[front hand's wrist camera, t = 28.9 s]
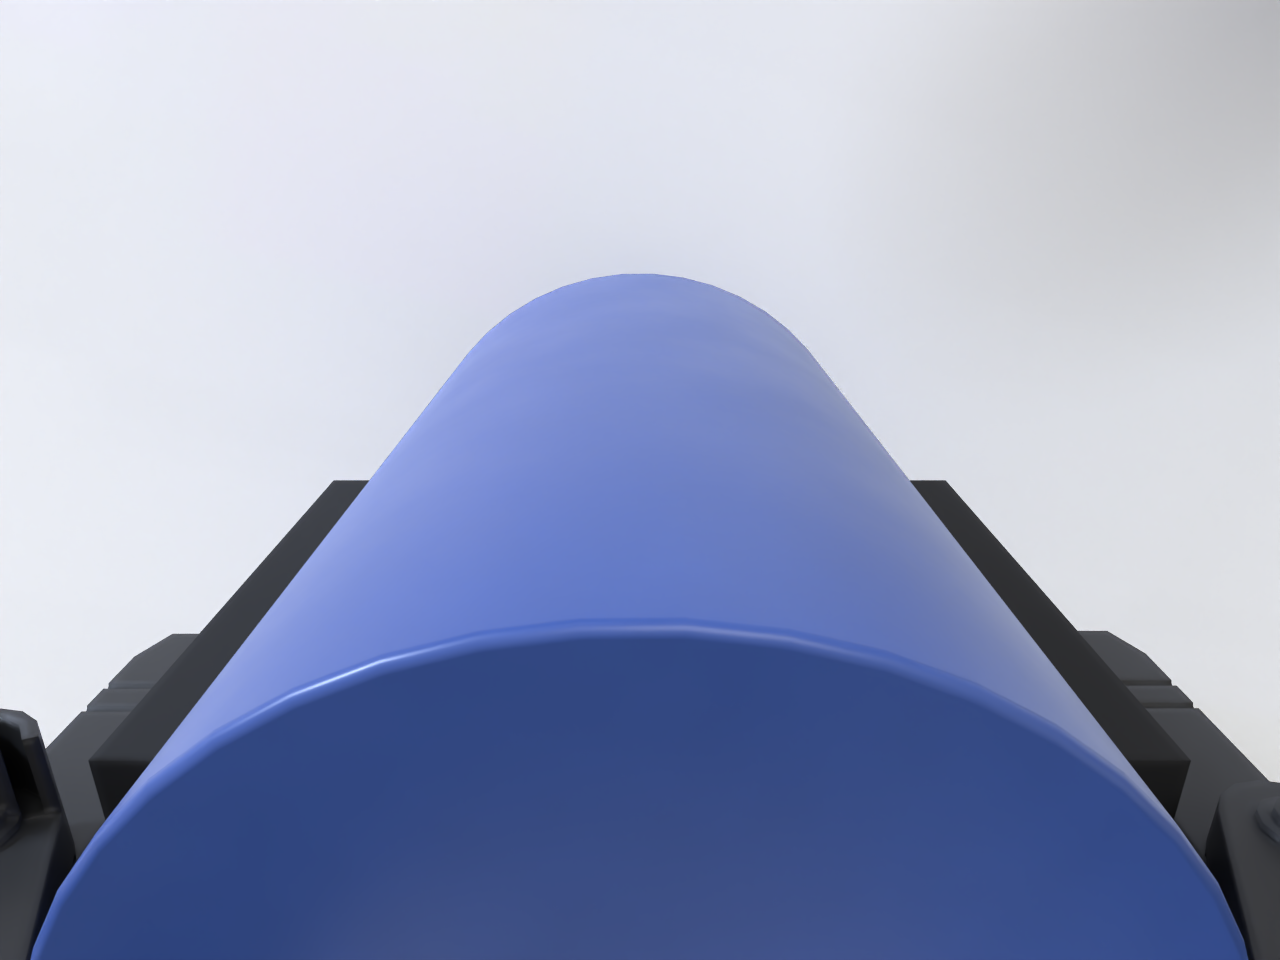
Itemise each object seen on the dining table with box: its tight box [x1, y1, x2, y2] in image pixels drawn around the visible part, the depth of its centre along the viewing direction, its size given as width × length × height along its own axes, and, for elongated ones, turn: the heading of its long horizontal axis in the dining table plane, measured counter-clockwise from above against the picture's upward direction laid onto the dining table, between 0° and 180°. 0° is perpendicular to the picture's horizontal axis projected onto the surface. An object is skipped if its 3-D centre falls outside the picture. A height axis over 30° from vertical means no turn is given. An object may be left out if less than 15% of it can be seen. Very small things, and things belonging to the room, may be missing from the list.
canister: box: [31, 274, 1248, 960], centre depth 11 cm, size 8×8×12 cm
